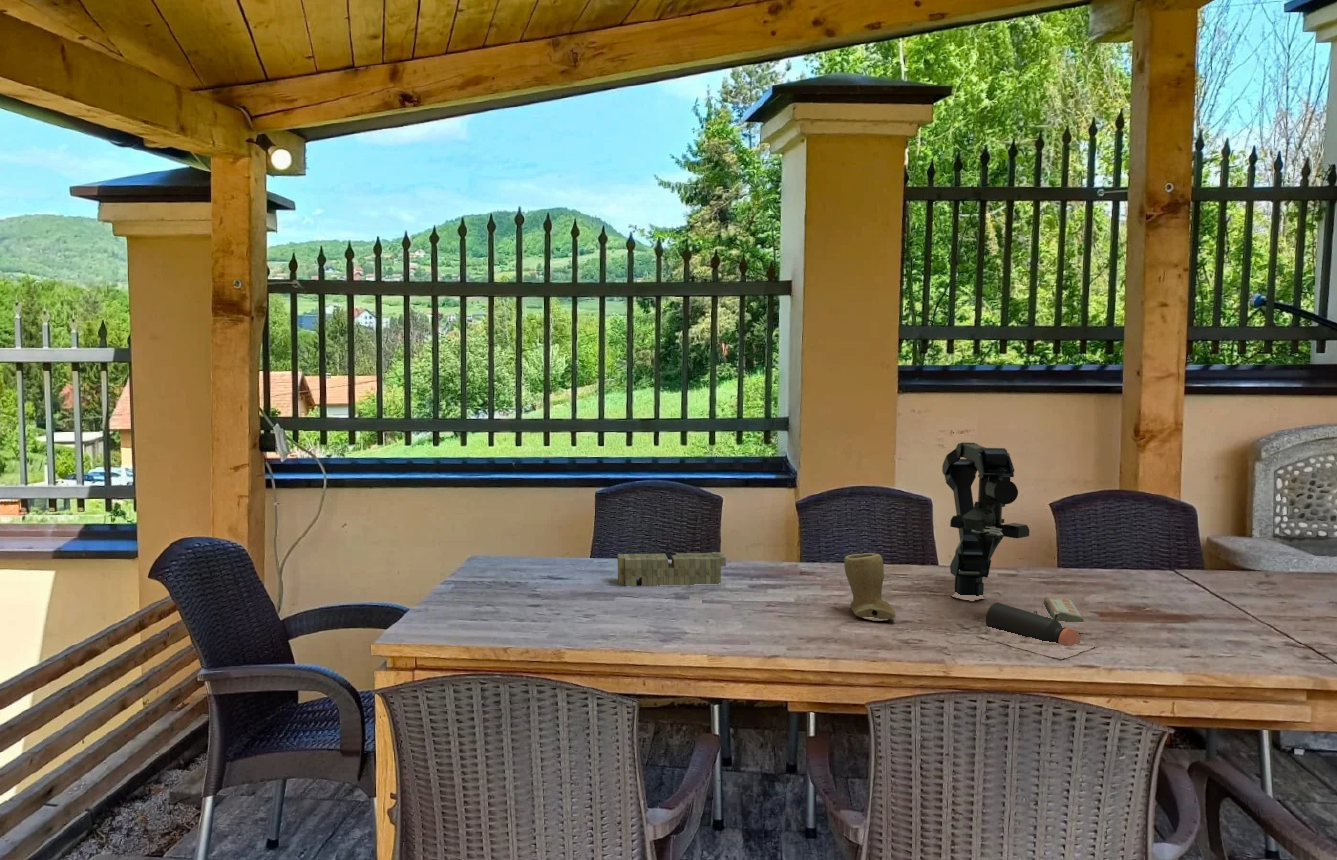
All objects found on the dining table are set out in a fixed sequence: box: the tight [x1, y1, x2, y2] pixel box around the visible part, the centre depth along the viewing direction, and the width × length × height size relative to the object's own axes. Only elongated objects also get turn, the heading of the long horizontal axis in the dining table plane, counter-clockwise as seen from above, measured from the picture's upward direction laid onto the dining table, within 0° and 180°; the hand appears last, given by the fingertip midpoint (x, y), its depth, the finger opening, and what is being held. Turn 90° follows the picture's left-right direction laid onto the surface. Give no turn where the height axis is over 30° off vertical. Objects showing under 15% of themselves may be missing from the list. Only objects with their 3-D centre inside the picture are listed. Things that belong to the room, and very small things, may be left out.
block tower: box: [617, 551, 727, 587], centre depth 250 cm, size 8×8×29 cm
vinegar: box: [985, 602, 1081, 646], centre depth 203 cm, size 7×7×20 cm
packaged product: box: [1042, 596, 1085, 622], centre depth 220 cm, size 18×5×10 cm
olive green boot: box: [843, 552, 897, 620], centre depth 222 cm, size 15×12×15 cm
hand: (987, 560), depth 227 cm, fingers closed
